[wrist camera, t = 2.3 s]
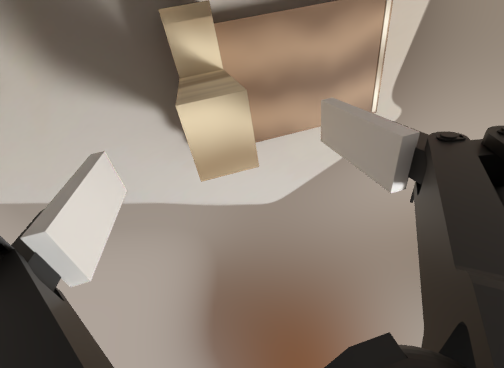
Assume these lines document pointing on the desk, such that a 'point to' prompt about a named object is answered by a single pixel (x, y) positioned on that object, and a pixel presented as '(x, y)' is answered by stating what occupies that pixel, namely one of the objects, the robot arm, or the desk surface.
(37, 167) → the desk surface
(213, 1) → the desk surface
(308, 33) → the board
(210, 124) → the bracket
